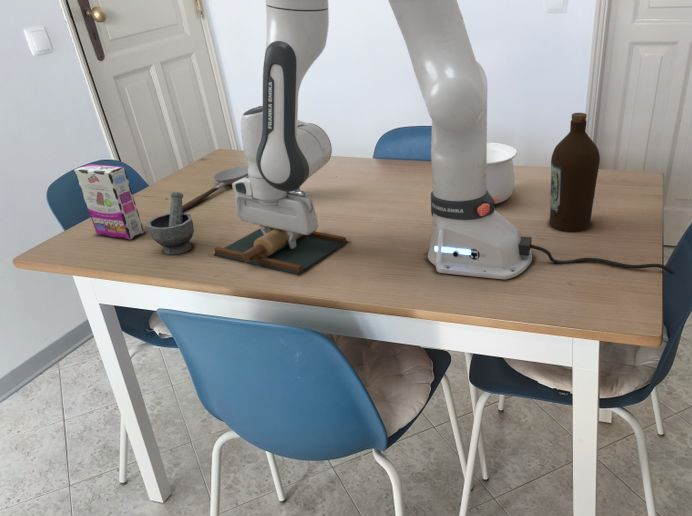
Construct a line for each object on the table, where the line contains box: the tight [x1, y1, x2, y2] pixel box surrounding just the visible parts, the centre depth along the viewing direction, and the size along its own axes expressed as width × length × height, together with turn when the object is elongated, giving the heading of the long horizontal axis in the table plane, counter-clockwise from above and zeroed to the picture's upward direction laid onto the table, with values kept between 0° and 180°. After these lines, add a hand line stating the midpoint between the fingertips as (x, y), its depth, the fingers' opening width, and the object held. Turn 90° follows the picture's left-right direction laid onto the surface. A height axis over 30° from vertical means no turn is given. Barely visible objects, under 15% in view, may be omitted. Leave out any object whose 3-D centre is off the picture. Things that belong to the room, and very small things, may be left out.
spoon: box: [182, 166, 248, 212], centre depth 174 cm, size 11×33×3 cm, turn 158°
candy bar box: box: [73, 163, 145, 241], centre depth 150 cm, size 11×5×16 cm, turn 68°
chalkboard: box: [213, 227, 348, 276], centre depth 143 cm, size 24×18×2 cm
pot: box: [486, 141, 518, 205], centre depth 161 cm, size 22×17×12 cm
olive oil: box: [549, 112, 601, 232], centre depth 142 cm, size 11×11×25 cm
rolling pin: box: [242, 229, 304, 263], centre depth 141 cm, size 4×23×4 cm, turn 152°
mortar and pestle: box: [147, 191, 195, 255], centre depth 143 cm, size 11×9×12 cm
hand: (281, 245), depth 142 cm, fingers closed on rolling pin, 4 cm apart
